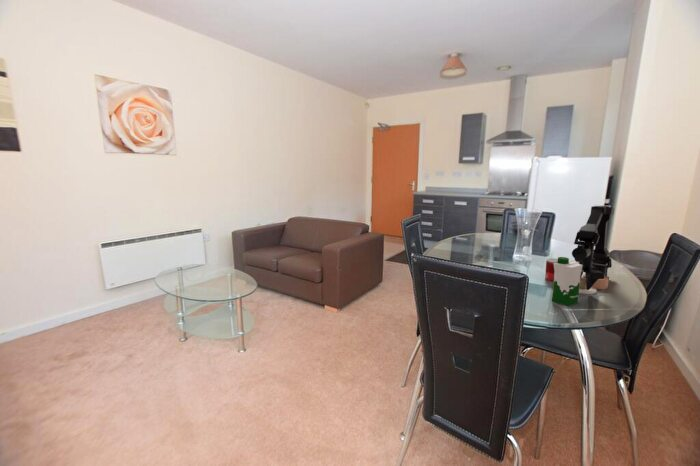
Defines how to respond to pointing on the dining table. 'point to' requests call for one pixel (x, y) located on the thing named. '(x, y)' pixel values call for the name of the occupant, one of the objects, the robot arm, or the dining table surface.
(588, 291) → the lid
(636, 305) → the dining table surface
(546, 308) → the dining table surface
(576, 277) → the milk carton
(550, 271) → the canned food
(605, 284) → the bowl
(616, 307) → the dining table surface
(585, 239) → the robot arm
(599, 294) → the mat
